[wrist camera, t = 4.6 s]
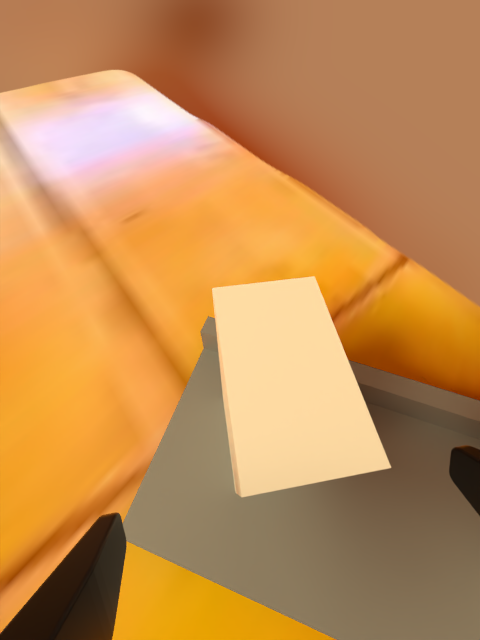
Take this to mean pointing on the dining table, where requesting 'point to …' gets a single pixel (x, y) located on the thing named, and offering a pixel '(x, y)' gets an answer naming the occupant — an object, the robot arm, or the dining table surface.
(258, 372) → the cream rectangular block
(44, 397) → the dining table surface
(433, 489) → the offcut rack
